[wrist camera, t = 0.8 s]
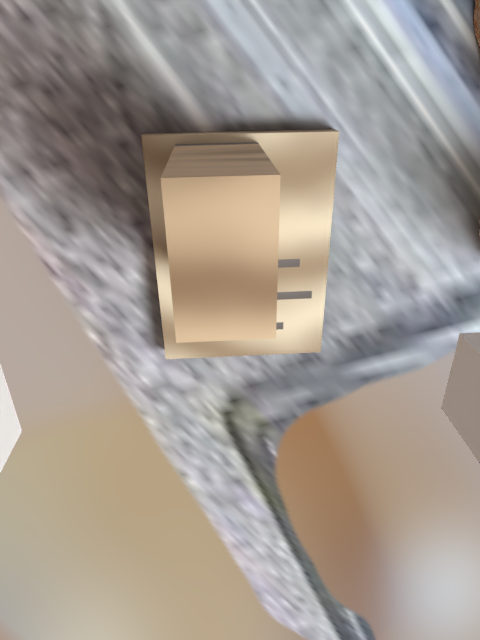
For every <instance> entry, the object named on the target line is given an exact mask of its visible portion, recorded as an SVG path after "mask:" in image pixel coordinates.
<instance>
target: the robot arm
mask: <svg viewBox="0 0 480 640" xmlns="http://www.w3.org/2000/svg"><path fill="white" fill-rule="evenodd" d="M442 410H443V411H444V413H445V414H446V416H447V417H448V418H449V420H450V421H451V423H452V424H453V426H454V427H455V428H456V430H457V431H458V433H459V434H460V435H461V437H462V438H463V440H464V441H465V443H466V444H467V446H468V447H469V448H470V450H471V451H472V453H473V454H474V456H475V457H476V459H477V460H478V461H479V463H480V333H460V335H459V339H458V343H457V347H456V351H455V355H454V359H453V363H452V367H451V371H450V375H449V379H448V383H447V387H446V391H445V395H444V399H443V403H442ZM21 432H22V430H21V426H20V424H19V420H18V417H17V414H16V411H15V408H14V405H13V402H12V399H11V395H10V392H9V389H8V386H7V383H6V380H5V377H4V374H3V370H2V367H1V364H0V472H1V470H2V468H3V466H4V465H5V462H6V461H7V459H8V457H9V455H10V453H11V451H12V449H13V447H14V445H15V443H16V441H17V439H18V437H19V436H20V434H21Z"/></svg>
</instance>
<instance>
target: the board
mask: <svg viewBox="0 0 480 640" xmlns="http://www.w3.org/2000/svg"><path fill="white" fill-rule="evenodd" d="M141 139H142V148H143V157H144V166H145V175H146V184H147V193H148V202H149V211H150V220H151V229H152V238H153V247H154V256H155V265H156V274H157V284H158V293H159V302H160V311H161V320H162V329H163V338H164V347H165V356H166V359H178V358H200V357H222V356H243V355H265V354H287V353H309V352H320V351H321V340H322V328H323V316H324V304H325V292H326V280H327V269H328V257H329V245H330V233H331V221H332V210H333V198H334V186H335V174H336V162H337V151H338V139H339V131H337V130H335V129H324V130H279V131H234V132H189V133H144V134H143V135H142V136H141ZM241 142H258V143H259V145H260V146H261V148H262V149H263V150H264V152H265V153H266V155H267V156H268V158H269V159H270V160H271V162H272V163H273V165H274V166H275V168H276V169H277V170H278V172H279V173H280V175H281V178H280V214H279V249H278V285H277V320H276V338H274V339H251V340H229V341H206V342H184V343H176V335H175V325H174V314H173V304H172V293H171V282H170V272H169V261H168V251H167V240H166V230H165V219H164V209H163V198H162V188H161V176H162V174H163V171H164V169H165V167H166V164H167V162H168V160H169V158H170V155H171V153H172V151H173V148H174V146H175V144H199V143H241Z"/></svg>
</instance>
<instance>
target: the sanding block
mask: <svg viewBox="0 0 480 640" xmlns="http://www.w3.org/2000/svg"><path fill="white" fill-rule="evenodd" d="M280 178H281V175H280V173H279V172H278V170H277V169H276V168H275V166H274V165H273V163H272V162H271V160H270V159H269V158H268V156H267V155H266V153H265V152H264V150H263V149H262V148H261V146H260V145H259V143H258V142H241V143H199V144H175V146H174V148H173V151H172V153H171V155H170V158H169V160H168V162H167V164H166V167H165V169H164V171H163V174H162V176H161V188H162V198H163V209H164V219H165V230H166V240H167V251H168V261H169V272H170V282H171V293H172V304H173V314H174V325H175V335H176V343H184V342H206V341H229V340H251V339H274V338H276V320H277V285H278V249H279V214H280Z"/></svg>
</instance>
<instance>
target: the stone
mask: <svg viewBox="0 0 480 640" xmlns="http://www.w3.org/2000/svg"><path fill="white" fill-rule="evenodd" d="M473 22H474V30H475V35H476V38H477V41H478V44H479V47H480V0H475V10H474V18H473Z"/></svg>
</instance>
